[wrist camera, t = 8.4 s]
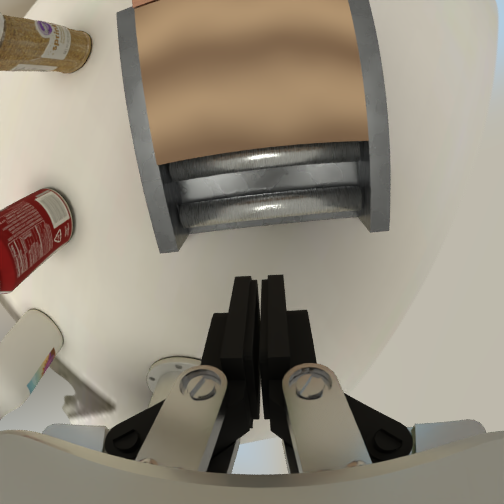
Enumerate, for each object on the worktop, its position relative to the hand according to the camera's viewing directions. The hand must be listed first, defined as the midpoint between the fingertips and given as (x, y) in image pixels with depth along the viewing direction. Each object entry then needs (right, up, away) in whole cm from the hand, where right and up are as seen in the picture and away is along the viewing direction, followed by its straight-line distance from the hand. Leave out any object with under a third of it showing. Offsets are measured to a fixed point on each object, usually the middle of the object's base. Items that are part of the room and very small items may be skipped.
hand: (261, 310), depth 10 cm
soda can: (-22, +6, +16) cm, 28 cm away
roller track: (0, +14, +10) cm, 17 cm away
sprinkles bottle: (-17, +21, +8) cm, 28 cm away
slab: (0, +15, +6) cm, 16 cm away
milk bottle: (-32, -9, +24) cm, 41 cm away
